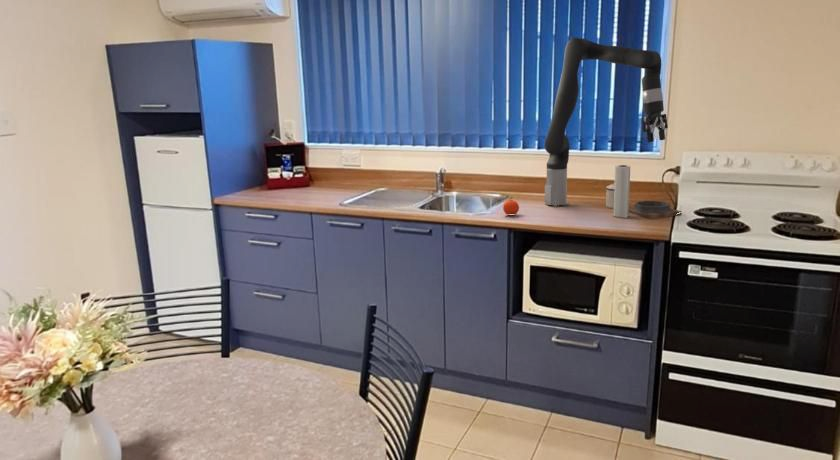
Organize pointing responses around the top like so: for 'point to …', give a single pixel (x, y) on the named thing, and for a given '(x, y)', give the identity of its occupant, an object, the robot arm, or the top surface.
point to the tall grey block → (621, 191)
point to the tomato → (510, 207)
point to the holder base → (653, 215)
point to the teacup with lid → (610, 196)
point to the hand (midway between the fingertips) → (656, 141)
